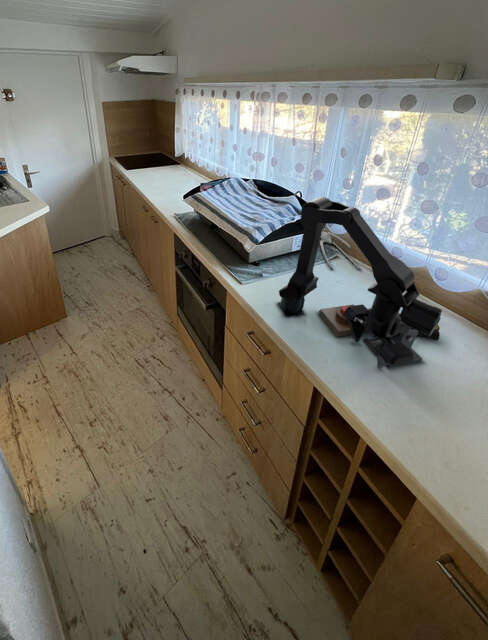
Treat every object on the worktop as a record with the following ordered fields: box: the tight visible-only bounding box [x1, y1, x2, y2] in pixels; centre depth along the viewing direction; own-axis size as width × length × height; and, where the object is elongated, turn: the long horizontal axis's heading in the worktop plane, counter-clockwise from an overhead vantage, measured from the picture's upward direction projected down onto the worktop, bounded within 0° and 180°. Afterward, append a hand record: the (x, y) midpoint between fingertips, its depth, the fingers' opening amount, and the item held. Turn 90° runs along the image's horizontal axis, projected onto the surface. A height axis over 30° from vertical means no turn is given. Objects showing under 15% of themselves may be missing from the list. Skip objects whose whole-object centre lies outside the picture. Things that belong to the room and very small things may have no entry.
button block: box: [318, 304, 369, 337], centre depth 96 cm, size 12×10×4 cm
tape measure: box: [410, 324, 441, 342], centre depth 92 cm, size 7×7×4 cm
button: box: [341, 305, 348, 316], centre depth 95 cm, size 4×4×2 cm
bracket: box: [367, 329, 423, 368], centre depth 84 cm, size 10×9×10 cm
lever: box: [362, 333, 400, 357], centre depth 83 cm, size 11×5×2 cm, turn 99°
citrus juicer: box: [319, 231, 361, 270], centre depth 135 cm, size 11×10×30 cm
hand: (367, 354), depth 85 cm, fingers open, 9 cm apart
